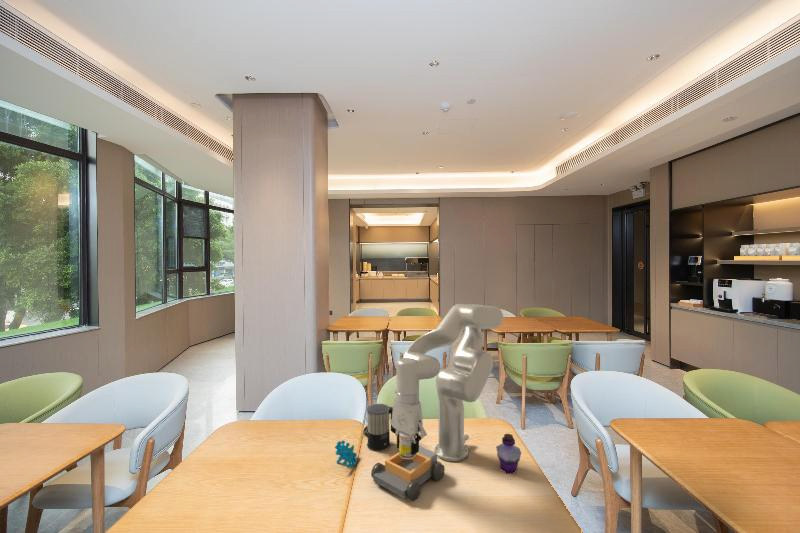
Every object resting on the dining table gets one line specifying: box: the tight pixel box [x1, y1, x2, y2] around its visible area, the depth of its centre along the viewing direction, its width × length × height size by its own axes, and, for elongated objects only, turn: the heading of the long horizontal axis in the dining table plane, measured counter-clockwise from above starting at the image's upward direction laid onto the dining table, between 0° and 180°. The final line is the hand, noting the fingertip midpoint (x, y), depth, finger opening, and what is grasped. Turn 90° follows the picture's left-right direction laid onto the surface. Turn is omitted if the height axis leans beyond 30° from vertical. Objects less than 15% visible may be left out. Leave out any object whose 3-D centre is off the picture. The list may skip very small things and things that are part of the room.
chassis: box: [371, 445, 446, 502], centre depth 122 cm, size 20×17×6 cm
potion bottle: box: [496, 433, 522, 474], centre depth 127 cm, size 9×9×12 cm
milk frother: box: [362, 403, 395, 452], centre depth 148 cm, size 14×16×15 cm
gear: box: [334, 440, 358, 468], centre depth 132 cm, size 11×6×10 cm
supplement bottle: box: [398, 431, 417, 459], centre depth 122 cm, size 6×6×10 cm
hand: (407, 449), depth 122 cm, fingers closed on supplement bottle, 5 cm apart
